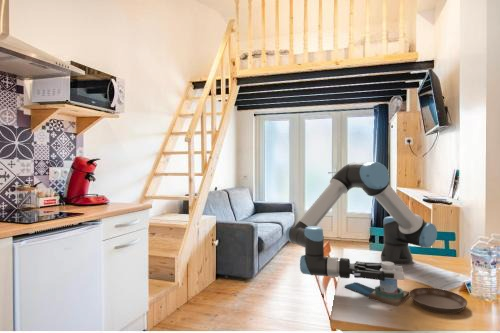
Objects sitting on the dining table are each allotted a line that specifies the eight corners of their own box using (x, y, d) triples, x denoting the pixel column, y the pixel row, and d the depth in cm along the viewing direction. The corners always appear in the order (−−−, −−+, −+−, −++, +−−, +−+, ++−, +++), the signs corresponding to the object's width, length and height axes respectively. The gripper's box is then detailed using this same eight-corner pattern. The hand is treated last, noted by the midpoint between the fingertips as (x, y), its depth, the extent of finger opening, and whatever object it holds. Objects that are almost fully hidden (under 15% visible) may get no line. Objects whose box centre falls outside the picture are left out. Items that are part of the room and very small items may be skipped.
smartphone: (356, 284, 136) (356, 281, 136) (387, 295, 123) (387, 293, 123) (343, 287, 132) (343, 285, 132) (373, 300, 119) (373, 297, 119)
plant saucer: (468, 321, 101) (468, 311, 101) (406, 309, 110) (406, 300, 110) (466, 301, 116) (466, 292, 116) (412, 292, 125) (412, 284, 125)
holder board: (381, 288, 129) (381, 281, 129) (409, 294, 122) (409, 287, 122) (368, 298, 120) (368, 291, 120) (397, 306, 112) (397, 298, 112)
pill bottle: (399, 296, 117) (398, 266, 117) (381, 295, 118) (380, 265, 118) (395, 289, 123) (394, 260, 123) (378, 289, 124) (377, 260, 124)
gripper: (341, 269, 136) (401, 274, 128) (337, 285, 118) (405, 292, 110) (341, 252, 136) (400, 256, 128) (336, 265, 118) (405, 270, 110)
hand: (403, 272), depth 119 cm, fingers open, 6 cm apart
